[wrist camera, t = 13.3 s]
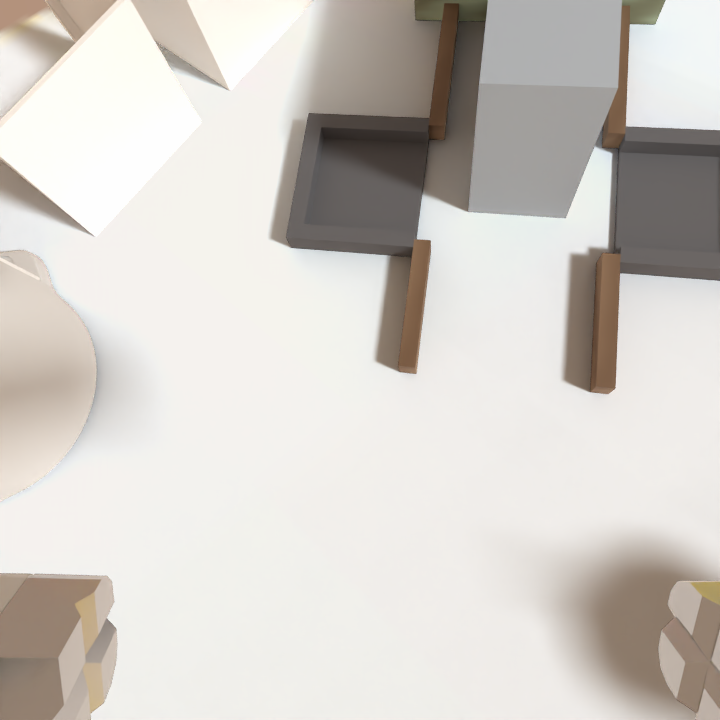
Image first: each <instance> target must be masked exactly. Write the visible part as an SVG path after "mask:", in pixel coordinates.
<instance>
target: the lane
mask: <svg viewBox="0 0 720 720" xmlns="http://www.w3.org/2000/svg"><path fill="white" fill-rule="evenodd" d="M664 2H665V0H622V9H621V31H620V54H619V77H618V89H617V92H616V94H615V97H614V99H613V102H612V104H611V107H610V109H609V112H608V114H607V116H606V119H605V121H604V124H603V138H602V147H607V148H619V146H620V144H621V142H622V140H623V137H624V135H625V128H626V103H627V77H628V51H629V26H630V24H656V21H657V19H658V17H659V14H660V12H661V9H662V7H663V5H664ZM487 5H488V0H415V18H416V20H442V24H441V32H440V40H439V48H438V56H437V64H436V72H435V79H434V87H433V95H432V103H431V111H430V119H429V139H436V140H444V137H445V129H446V121H447V112H448V104H449V96H450V87H451V79H452V70H453V62H454V54H455V45H456V37H457V29H458V21H486V15H487ZM430 255H431V240H417V239H414V244H413V252H412V260H411V268H410V276H409V284H408V292H407V299H406V307H405V315H404V323H403V331H402V339H401V347H400V354H399V362H398V368H399V371H400V372H404V373H413V374H416V372H417V363H418V355H419V347H420V338H421V330H422V322H423V313H424V305H425V296H426V288H427V280H428V271H429V263H430ZM620 257H621V254H611V253H602V255H601V256H600V258H599V260H598V261H597V263H596V281H595V301H594V322H593V342H592V362H591V383H590V392H594V393H603V394H609V393H610V392H611V391H613V390H614V389H615V385H616V359H617V333H618V308H619V282H620Z"/></svg>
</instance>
